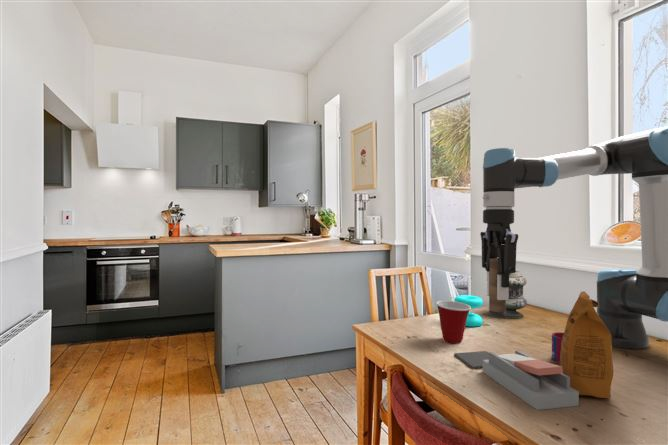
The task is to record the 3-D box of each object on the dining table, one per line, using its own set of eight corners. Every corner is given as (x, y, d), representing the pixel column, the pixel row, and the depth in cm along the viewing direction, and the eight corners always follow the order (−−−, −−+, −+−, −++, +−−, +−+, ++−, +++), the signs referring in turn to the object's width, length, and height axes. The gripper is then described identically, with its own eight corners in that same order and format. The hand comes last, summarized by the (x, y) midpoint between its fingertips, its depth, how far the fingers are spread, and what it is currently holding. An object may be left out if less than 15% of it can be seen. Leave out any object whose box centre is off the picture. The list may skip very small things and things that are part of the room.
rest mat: (485, 353, 113) (485, 351, 113) (507, 366, 103) (507, 363, 103) (454, 355, 111) (454, 353, 111) (473, 368, 101) (473, 366, 101)
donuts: (486, 300, 138) (458, 300, 138) (486, 327, 138) (458, 327, 138) (477, 294, 148) (451, 294, 148) (477, 320, 148) (451, 320, 148)
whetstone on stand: (517, 368, 101) (517, 347, 101) (578, 405, 81) (578, 379, 81) (482, 371, 99) (482, 350, 99) (536, 410, 80) (537, 383, 80)
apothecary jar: (502, 310, 164) (503, 268, 163) (532, 315, 154) (532, 271, 154) (488, 314, 156) (488, 270, 156) (518, 321, 147) (518, 274, 146)
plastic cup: (471, 348, 117) (471, 308, 117) (434, 344, 120) (434, 306, 120) (470, 337, 127) (471, 301, 127) (437, 334, 131) (437, 299, 130)
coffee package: (605, 382, 93) (606, 291, 92) (616, 405, 82) (617, 302, 81) (557, 374, 97) (558, 288, 97) (562, 395, 86) (563, 297, 86)
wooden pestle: (499, 313, 103) (500, 258, 103) (508, 317, 99) (509, 259, 99) (486, 314, 103) (486, 258, 102) (494, 318, 99) (495, 260, 98)
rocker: (494, 360, 97) (493, 355, 98) (515, 359, 99) (515, 353, 99) (538, 375, 82) (537, 368, 82) (563, 373, 83) (562, 366, 83)
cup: (550, 354, 112) (551, 331, 112) (591, 360, 107) (592, 335, 107) (552, 362, 106) (552, 337, 106) (595, 368, 101) (596, 342, 101)
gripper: (468, 209, 108) (467, 291, 109) (504, 207, 91) (503, 305, 92) (493, 209, 109) (492, 291, 110) (533, 208, 93) (532, 304, 93)
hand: (497, 297), depth 101 cm, fingers closed on wooden pestle, 4 cm apart
